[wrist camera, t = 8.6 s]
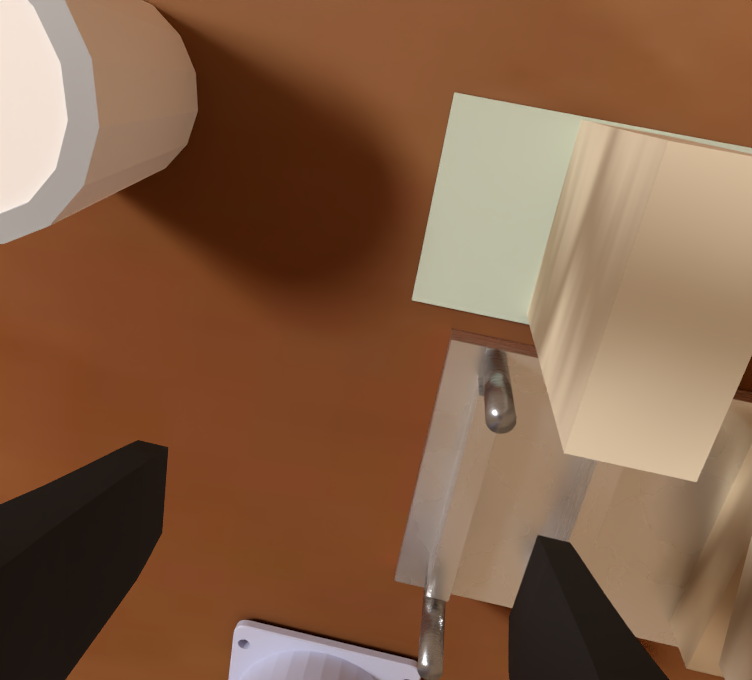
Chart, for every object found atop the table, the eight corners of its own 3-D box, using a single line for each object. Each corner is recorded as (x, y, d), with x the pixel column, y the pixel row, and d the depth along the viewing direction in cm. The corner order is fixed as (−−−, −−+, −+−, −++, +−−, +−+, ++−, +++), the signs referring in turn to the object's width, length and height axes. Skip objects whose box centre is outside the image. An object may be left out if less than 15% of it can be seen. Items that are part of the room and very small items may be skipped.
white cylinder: (10, -64, 19) (-230, -146, 12) (233, -6, 19) (108, -58, 12) (6, 169, 21) (-194, 202, 15) (202, 222, 21) (85, 280, 15)
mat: (717, 360, 20) (721, 364, 20) (412, 297, 21) (411, 300, 21) (802, 157, 18) (807, 158, 18) (454, 92, 19) (454, 92, 18)
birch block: (607, 331, 20) (696, 482, 12) (526, 314, 20) (563, 453, 13) (672, 136, 18) (832, 171, 10) (581, 119, 18) (668, 140, 10)
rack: (811, 658, 24) (892, 793, 20) (397, 562, 25) (381, 668, 20) (945, 432, 20) (1086, 532, 16) (452, 329, 21) (447, 394, 17)
